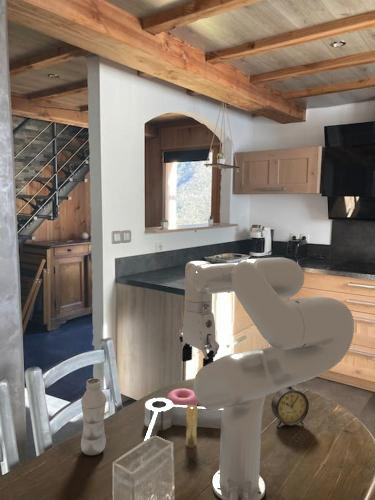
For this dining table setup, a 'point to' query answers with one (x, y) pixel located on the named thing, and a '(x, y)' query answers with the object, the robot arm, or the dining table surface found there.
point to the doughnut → (182, 397)
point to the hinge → (176, 416)
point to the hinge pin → (191, 426)
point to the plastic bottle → (93, 418)
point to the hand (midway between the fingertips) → (197, 365)
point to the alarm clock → (290, 406)
